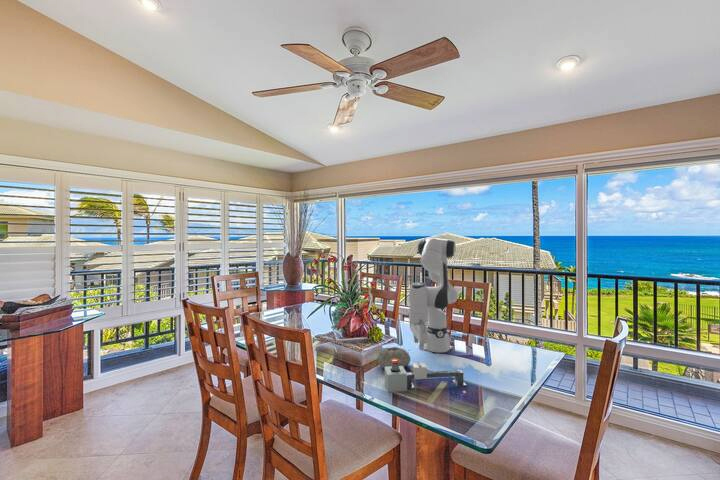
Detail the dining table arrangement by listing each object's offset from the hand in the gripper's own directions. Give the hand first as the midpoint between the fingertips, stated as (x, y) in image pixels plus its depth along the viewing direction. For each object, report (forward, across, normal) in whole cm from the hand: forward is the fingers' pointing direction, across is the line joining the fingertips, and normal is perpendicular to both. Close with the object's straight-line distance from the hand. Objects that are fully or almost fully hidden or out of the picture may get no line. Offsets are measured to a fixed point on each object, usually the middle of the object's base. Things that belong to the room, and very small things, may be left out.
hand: (418, 345), depth 154 cm
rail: (+19, 0, -7) cm, 20 cm away
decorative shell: (+20, +22, +8) cm, 31 cm away
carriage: (+15, -1, 0) cm, 15 cm away
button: (+13, -1, +11) cm, 17 cm away
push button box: (+19, -1, +11) cm, 22 cm away
